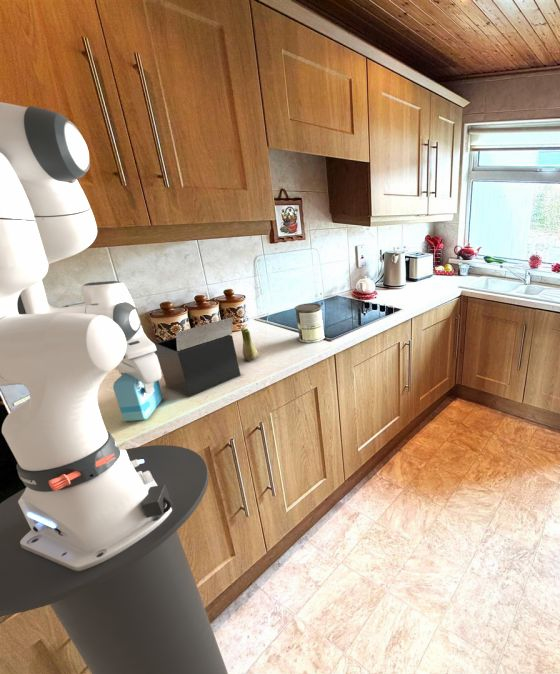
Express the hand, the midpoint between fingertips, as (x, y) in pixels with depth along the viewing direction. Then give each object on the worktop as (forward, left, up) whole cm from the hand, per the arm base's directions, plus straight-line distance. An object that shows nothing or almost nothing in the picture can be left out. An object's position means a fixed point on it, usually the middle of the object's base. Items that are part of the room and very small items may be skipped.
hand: (140, 387), depth 97 cm
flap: (-4, -17, +11) cm, 21 cm away
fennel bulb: (+5, -35, -7) cm, 37 cm away
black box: (+3, -17, -7) cm, 19 cm away
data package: (0, +1, -7) cm, 7 cm away
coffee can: (+2, -61, -7) cm, 62 cm away
